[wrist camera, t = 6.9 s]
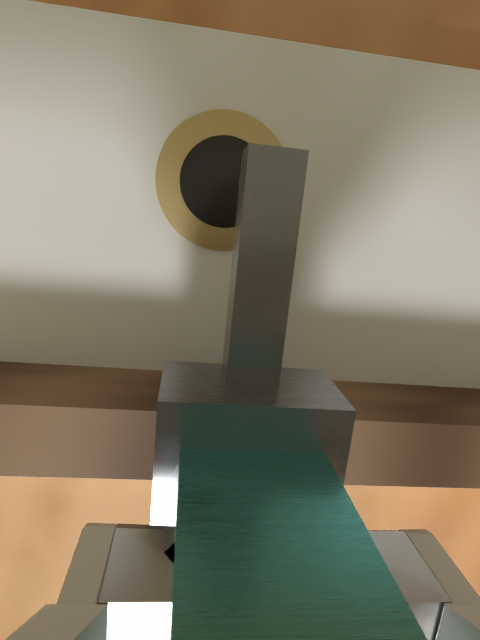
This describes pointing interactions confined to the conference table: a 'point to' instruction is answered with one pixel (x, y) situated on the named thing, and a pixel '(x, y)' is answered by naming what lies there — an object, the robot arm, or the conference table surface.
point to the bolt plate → (231, 196)
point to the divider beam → (140, 427)
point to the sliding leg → (265, 459)
